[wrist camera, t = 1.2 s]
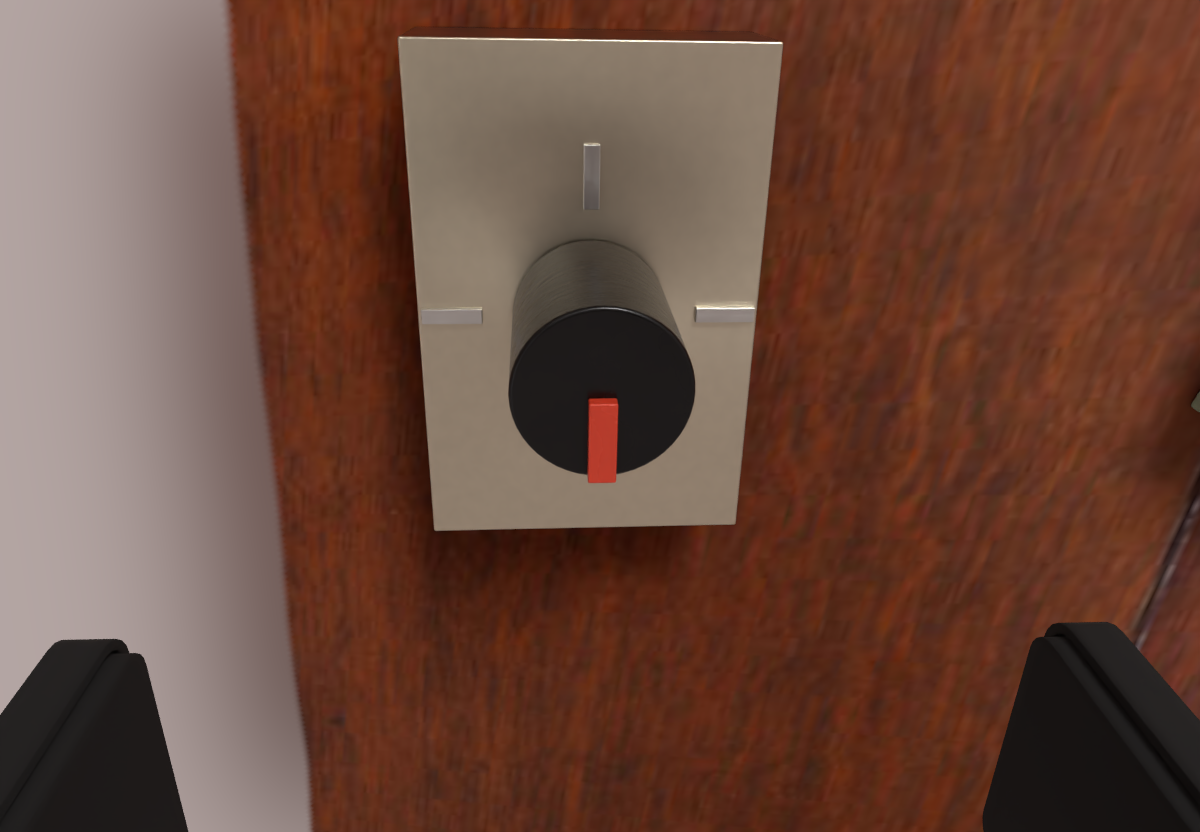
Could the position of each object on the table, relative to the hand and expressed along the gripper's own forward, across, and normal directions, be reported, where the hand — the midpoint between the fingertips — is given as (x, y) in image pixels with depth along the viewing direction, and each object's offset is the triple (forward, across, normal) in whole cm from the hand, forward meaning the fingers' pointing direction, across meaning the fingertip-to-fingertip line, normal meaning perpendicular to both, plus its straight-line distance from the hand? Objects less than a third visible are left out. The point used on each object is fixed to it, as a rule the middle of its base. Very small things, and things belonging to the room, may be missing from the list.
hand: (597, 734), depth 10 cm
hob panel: (+16, 0, 0) cm, 16 cm away
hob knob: (+13, 0, 0) cm, 13 cm away
